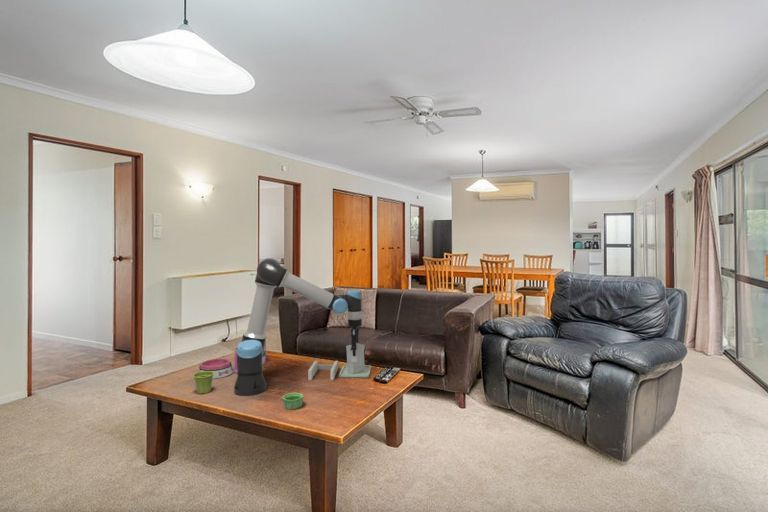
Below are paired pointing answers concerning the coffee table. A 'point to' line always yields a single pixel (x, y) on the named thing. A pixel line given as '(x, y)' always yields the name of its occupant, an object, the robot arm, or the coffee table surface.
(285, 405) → the ramekin
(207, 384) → the plant pot
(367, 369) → the tray
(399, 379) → the coffee table surface
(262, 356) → the gum box
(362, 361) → the skincare box
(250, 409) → the coffee table surface
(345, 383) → the coffee table surface
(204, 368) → the dog bowl
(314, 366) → the bay
